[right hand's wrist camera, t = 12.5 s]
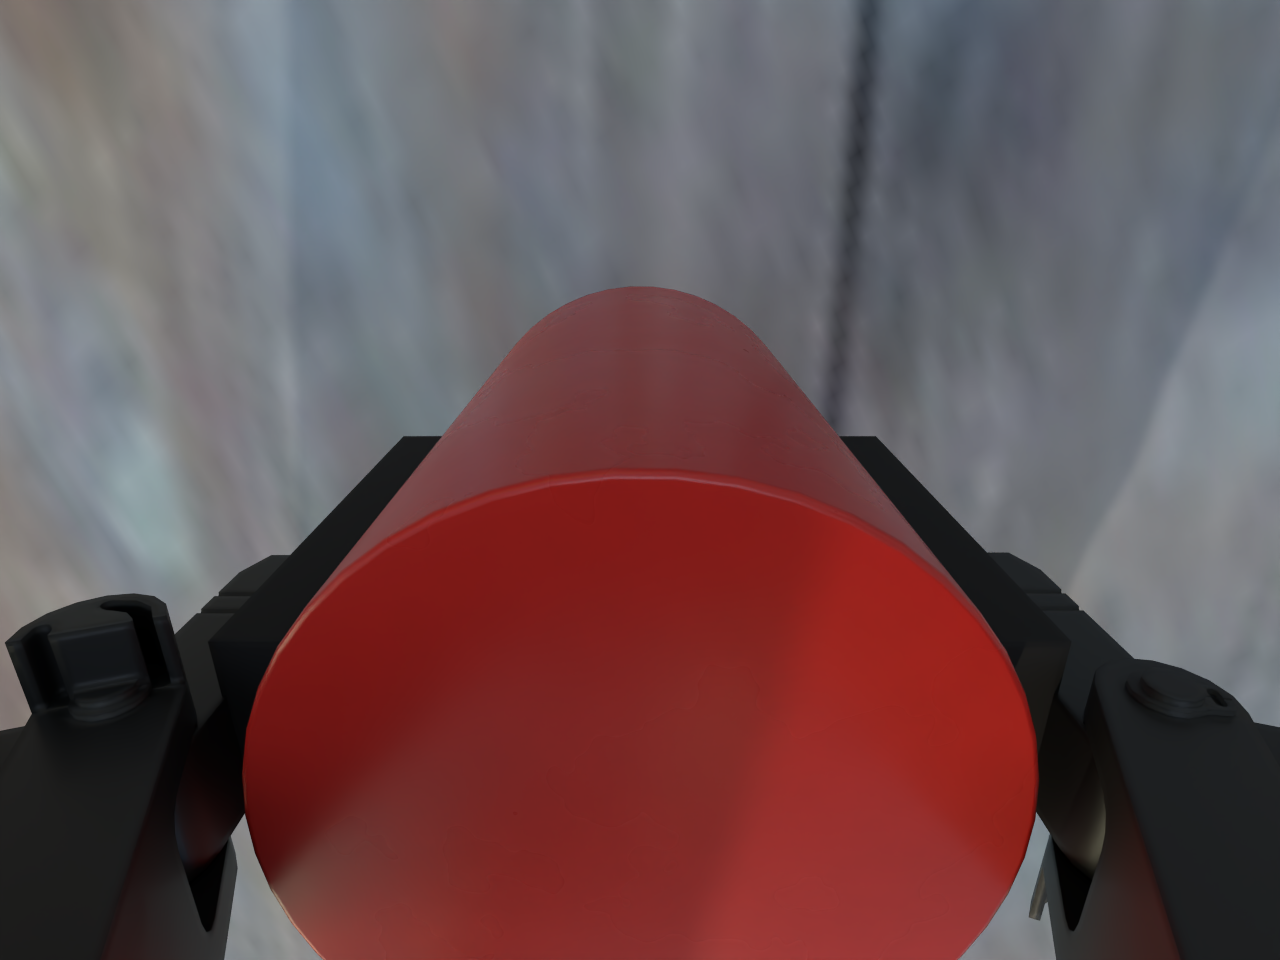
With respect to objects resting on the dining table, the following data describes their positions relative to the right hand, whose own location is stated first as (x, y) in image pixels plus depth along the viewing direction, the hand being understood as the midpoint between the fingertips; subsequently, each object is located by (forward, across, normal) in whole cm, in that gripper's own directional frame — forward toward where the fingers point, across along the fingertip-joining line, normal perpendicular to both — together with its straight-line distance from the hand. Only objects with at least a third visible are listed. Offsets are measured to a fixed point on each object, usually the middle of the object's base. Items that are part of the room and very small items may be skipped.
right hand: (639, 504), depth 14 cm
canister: (+3, 0, 0) cm, 3 cm away
